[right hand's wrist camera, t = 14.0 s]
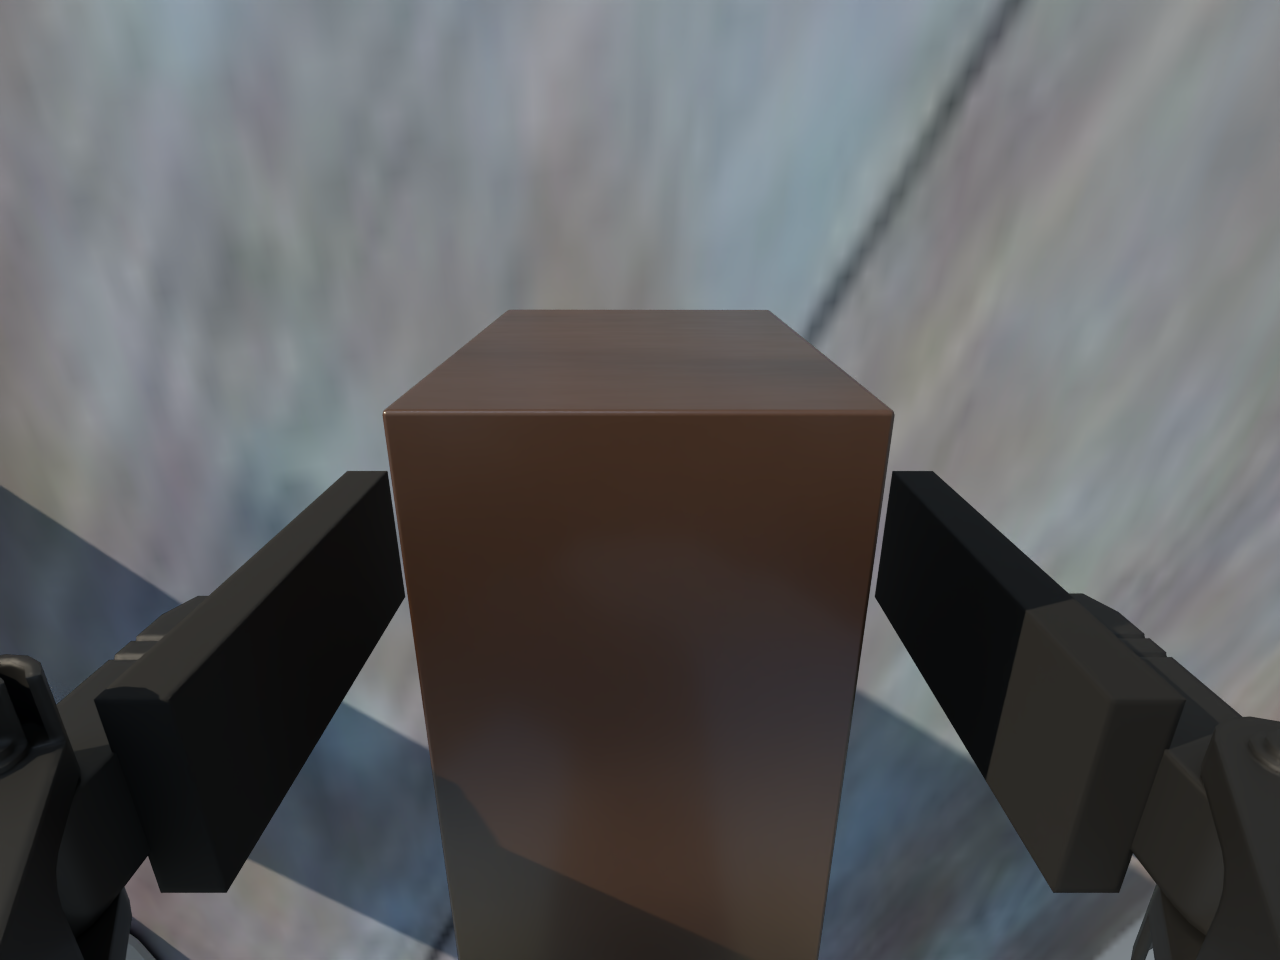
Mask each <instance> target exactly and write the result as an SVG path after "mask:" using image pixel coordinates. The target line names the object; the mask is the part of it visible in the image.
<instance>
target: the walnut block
mask: <svg viewBox="0 0 1280 960" xmlns="http://www.w3.org/2000/svg"><path fill="white" fill-rule="evenodd" d="M383 422H384V429H385V436H386V443H387V450H388V458H389V465H390V472H391V479H392V486H393V493H394V501H395V508H396V515H397V522H398V529H399V536H400V544H401V551H402V558H403V565H404V572H405V580H406V587H407V594H408V601H409V608H410V615H411V623H412V630H413V637H414V644H415V651H416V658H417V666H418V673H419V680H420V687H421V694H422V702H423V709H424V716H425V723H426V730H427V737H428V745H429V752H430V759H431V766H432V773H433V781H434V788H435V795H436V802H437V809H438V816H439V824H440V831H441V838H442V845H443V852H444V859H445V867H446V874H447V881H448V888H449V895H450V903H451V910H452V917H453V924H454V931H455V938H456V946H457V953H458V960H818V956H819V949H820V942H821V934H822V927H823V920H824V913H825V906H826V899H827V892H828V885H829V877H830V870H831V863H832V856H833V849H834V842H835V835H836V828H837V821H838V813H839V806H840V799H841V792H842V785H843V778H844V771H845V764H846V757H847V749H848V742H849V735H850V728H851V721H852V714H853V707H854V700H855V693H856V685H857V678H858V671H859V664H860V657H861V650H862V643H863V636H864V629H865V621H866V614H867V607H868V600H869V593H870V586H871V579H872V572H873V565H874V557H875V550H876V543H877V536H878V529H879V522H880V515H881V508H882V501H883V493H884V486H885V479H886V472H887V465H888V458H889V451H890V444H891V436H892V429H893V422H894V412H893V410H891V409H890V408H889V407H888V406H886V405H885V404H884V403H883V402H882V401H880V400H879V399H878V398H877V397H875V396H874V395H873V394H872V393H870V392H869V391H868V390H867V389H865V388H864V387H863V386H862V385H861V384H859V383H858V382H857V381H856V380H854V379H853V378H852V377H851V376H849V375H848V374H847V373H846V372H845V371H843V370H842V369H841V368H840V367H838V366H837V365H836V364H835V363H833V362H832V361H831V360H830V359H828V358H827V357H826V356H825V355H824V354H822V353H821V352H820V351H819V350H817V349H816V348H815V347H814V346H812V345H811V344H810V343H809V342H807V341H806V340H805V339H804V338H803V337H801V336H800V335H799V334H798V333H796V332H795V331H794V330H793V329H791V328H790V327H789V326H788V325H787V324H785V323H784V322H783V321H782V320H780V319H779V318H778V317H777V316H775V315H774V314H773V313H772V312H770V311H769V310H508V311H507V312H505V313H504V314H503V315H502V316H500V317H499V318H498V319H497V320H495V321H494V322H493V323H492V324H490V325H489V326H488V327H487V328H485V329H484V330H483V331H482V332H481V333H479V334H478V335H477V336H476V337H474V338H473V339H472V340H471V341H469V342H468V343H467V344H466V345H464V346H463V347H462V348H461V349H459V350H458V351H457V352H456V353H455V354H453V355H452V356H451V357H450V358H448V359H447V360H446V361H445V362H443V363H442V364H441V365H440V366H438V367H437V368H436V369H435V370H433V371H432V372H431V373H430V374H428V375H427V376H426V377H425V378H424V379H422V380H421V381H420V382H419V383H417V384H416V385H415V386H414V387H412V388H411V389H410V390H409V391H407V392H406V393H405V394H404V395H402V396H401V397H400V398H399V399H397V400H396V401H395V402H394V403H393V404H391V405H390V406H389V407H388V408H386V409H385V410H384V411H383Z"/></svg>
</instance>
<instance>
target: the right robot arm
mask: <svg viewBox="0 0 1280 960" xmlns="http://www.w3.org/2000/svg"><path fill="white" fill-rule="evenodd" d="M404 598H405V592H404V585H403V578H402V571H401V564H400V557H399V550H398V542H397V535H396V528H395V521H394V514H393V507H392V500H391V493H390V486H389V479H388V472H387V471H347V472H346V473H345V474H344V475H343V476H341V477H340V478H339V479H338V480H337V481H336V482H335V483H334V484H333V485H331V486H330V487H329V488H328V489H327V490H326V491H325V492H324V493H323V494H321V495H320V496H319V497H318V498H317V499H316V500H315V501H314V502H313V503H311V504H310V505H309V506H308V507H307V508H306V509H305V510H304V511H303V512H301V513H300V514H299V515H298V516H297V517H296V518H295V519H294V520H293V521H291V522H290V523H289V524H288V525H287V526H286V527H285V528H284V529H283V530H281V531H280V532H279V533H278V534H277V535H276V536H275V537H274V538H273V539H271V540H270V541H269V542H268V543H267V544H266V545H265V546H264V547H263V548H261V549H260V550H259V551H258V552H257V553H256V554H255V555H254V556H253V557H251V558H250V559H249V560H248V561H247V562H246V563H245V564H244V565H243V566H241V567H240V568H239V569H238V570H237V571H236V572H235V573H234V574H233V575H231V576H230V577H229V578H228V579H227V580H226V581H225V582H224V583H223V584H221V585H220V586H219V587H218V588H217V589H216V590H215V591H214V592H213V593H211V594H210V595H209V596H197V597H195V598H193V599H191V600H189V601H187V602H185V603H183V604H182V605H180V606H178V607H176V608H174V609H172V610H170V611H168V612H166V613H164V614H162V615H161V616H160V617H159V618H158V619H156V620H155V621H154V622H153V623H152V624H151V625H149V626H148V627H147V628H146V629H145V630H144V631H142V632H141V633H140V634H139V635H138V636H137V637H136V638H137V639H136V641H131V642H129V643H128V644H127V645H126V646H125V647H124V648H122V649H121V650H120V651H119V652H118V653H117V654H115V658H114V660H108V661H107V662H106V663H105V664H104V665H102V666H101V667H100V668H99V669H98V670H97V671H95V672H94V673H93V674H92V675H91V676H90V677H88V678H87V679H86V680H85V681H84V682H83V683H81V684H80V685H79V686H78V687H77V688H75V689H74V690H73V691H72V692H71V693H70V694H68V695H67V696H66V697H65V698H64V699H63V700H61V701H60V702H59V703H58V704H57V705H56V703H55V700H54V698H53V695H52V692H51V690H50V687H49V684H48V682H47V679H46V676H45V674H44V671H43V668H42V666H41V663H40V662H38V661H37V660H35V659H33V658H31V657H29V656H24V655H8V654H5V655H0V960H126V953H127V946H128V940H129V933H130V926H131V919H132V913H131V907H130V900H129V898H128V895H127V892H126V890H125V887H124V886H125V885H126V884H127V882H128V881H129V880H130V878H131V877H132V876H133V875H134V873H135V872H136V871H137V869H138V868H139V867H140V865H141V864H142V863H143V861H144V860H145V859H146V857H147V856H148V857H149V860H150V863H151V866H152V868H153V871H154V874H155V877H156V880H157V883H158V886H159V888H160V891H161V893H227V891H228V889H229V888H230V886H231V884H232V883H233V881H234V880H235V878H236V876H237V875H238V873H239V871H240V870H241V868H242V866H243V865H244V863H245V861H246V860H247V858H248V856H249V855H250V853H251V851H252V850H253V848H254V846H255V845H256V843H257V841H258V840H259V838H260V836H261V835H262V833H263V831H264V830H265V828H266V826H267V825H268V823H269V822H270V820H271V818H272V817H273V815H274V813H275V812H276V810H277V808H278V807H279V805H280V803H281V802H282V800H283V798H284V797H285V795H286V793H287V792H288V790H289V788H290V787H291V785H292V783H293V782H294V780H295V778H296V777H297V775H298V773H299V772H300V770H301V769H302V767H303V765H304V764H305V762H306V760H307V759H308V757H309V755H310V754H311V752H312V750H313V749H314V747H315V745H316V744H317V742H318V740H319V739H320V737H321V735H322V734H323V732H324V730H325V729H326V727H327V725H328V724H329V722H330V720H331V719H332V717H333V715H334V714H335V712H336V711H337V709H338V707H339V706H340V704H341V702H342V701H343V699H344V697H345V696H346V694H347V692H348V691H349V689H350V687H351V686H352V684H353V682H354V681H355V679H356V677H357V676H358V674H359V672H360V671H361V669H362V667H363V666H364V664H365V662H366V661H367V659H368V658H369V656H370V654H371V653H372V651H373V649H374V648H375V646H376V644H377V643H378V641H379V639H380V638H381V636H382V634H383V633H384V631H385V629H386V628H387V626H388V624H389V623H390V621H391V619H392V618H393V616H394V614H395V613H396V611H397V609H398V608H399V606H400V605H401V603H402V601H403V600H404ZM875 598H876V600H877V601H878V603H879V604H880V606H881V608H882V609H883V611H884V613H885V614H886V616H887V618H888V619H889V621H890V623H891V624H892V626H893V628H894V629H895V631H896V633H897V634H898V636H899V638H900V639H901V641H902V643H903V644H904V646H905V648H906V649H907V651H908V653H909V654H910V656H911V657H912V659H913V661H914V662H915V664H916V666H917V667H918V669H919V671H920V672H921V674H922V676H923V677H924V679H925V681H926V682H927V684H928V686H929V687H930V689H931V691H932V692H933V694H934V696H935V697H936V699H937V701H938V702H939V704H940V706H941V707H942V709H943V711H944V712H945V714H946V715H947V717H948V719H949V720H950V722H951V724H952V725H953V727H954V729H955V730H956V732H957V734H958V735H959V737H960V739H961V740H962V742H963V744H964V745H965V747H966V749H967V750H968V752H969V754H970V755H971V757H972V759H973V760H974V762H975V764H976V765H977V767H978V768H979V770H980V772H981V773H982V775H983V777H984V778H985V780H986V782H987V783H988V785H989V787H990V788H991V790H992V792H993V793H994V795H995V797H996V798H997V800H998V802H999V803H1000V805H1001V807H1002V808H1003V810H1004V812H1005V813H1006V815H1007V817H1008V818H1009V820H1010V822H1011V823H1012V825H1013V826H1014V828H1015V830H1016V831H1017V833H1018V835H1019V836H1020V838H1021V840H1022V841H1023V843H1024V845H1025V846H1026V848H1027V850H1028V851H1029V853H1030V855H1031V856H1032V858H1033V860H1034V861H1035V863H1036V865H1037V866H1038V868H1039V870H1040V871H1041V873H1042V875H1043V876H1044V878H1045V879H1046V881H1047V883H1048V884H1049V886H1050V888H1051V889H1052V891H1053V893H1119V891H1120V888H1121V886H1122V883H1123V880H1124V877H1125V874H1126V871H1127V868H1128V866H1129V863H1130V860H1131V857H1132V854H1134V855H1135V856H1136V857H1137V859H1138V860H1139V861H1140V863H1141V864H1142V865H1143V867H1144V868H1145V869H1146V871H1147V872H1148V873H1149V874H1150V876H1151V877H1152V878H1153V880H1154V881H1155V882H1156V887H1155V890H1154V892H1153V895H1152V898H1151V900H1150V903H1149V906H1148V908H1147V911H1146V914H1145V916H1144V919H1143V922H1142V924H1141V927H1140V930H1139V932H1138V935H1137V938H1136V940H1135V943H1134V946H1133V951H1132V957H1131V960H1145V959H1146V956H1147V953H1148V951H1149V950H1150V949H1152V948H1153V951H1154V958H1155V960H1280V722H1279V721H1273V720H1267V719H1261V718H1255V717H1242V716H1241V715H1240V714H1238V713H1237V712H1236V711H1235V710H1234V709H1233V708H1231V707H1230V706H1229V705H1228V704H1227V703H1225V702H1224V701H1223V700H1222V699H1221V698H1220V697H1218V696H1217V695H1216V694H1215V693H1214V692H1212V691H1211V690H1210V689H1209V688H1208V687H1207V686H1205V685H1204V684H1203V683H1202V682H1201V681H1199V680H1198V679H1197V678H1196V677H1195V676H1193V675H1192V674H1191V673H1190V672H1189V671H1188V670H1186V669H1185V668H1184V667H1183V666H1182V665H1180V664H1179V663H1178V662H1177V661H1176V660H1175V659H1173V658H1172V657H1167V656H1166V652H1165V651H1164V650H1163V649H1162V648H1160V647H1159V646H1158V645H1157V644H1156V643H1154V642H1153V641H1152V640H1151V639H1150V638H1145V637H1144V633H1143V632H1141V631H1140V630H1139V629H1138V628H1137V627H1136V626H1134V625H1133V624H1132V623H1131V622H1130V621H1128V620H1127V619H1126V618H1125V617H1124V616H1123V615H1121V614H1120V613H1119V612H1117V611H1115V610H1113V609H1112V608H1110V607H1108V606H1106V605H1104V604H1102V603H1100V602H1098V601H1096V600H1094V599H1092V598H1090V597H1088V596H1087V595H1085V594H1069V593H1067V592H1066V591H1065V590H1064V589H1063V588H1062V587H1061V586H1060V585H1059V584H1057V583H1056V582H1055V581H1054V580H1053V579H1052V578H1051V577H1050V576H1049V575H1047V574H1046V573H1045V572H1044V571H1043V570H1042V569H1041V568H1040V567H1039V566H1037V565H1036V564H1035V563H1034V562H1033V561H1032V560H1031V559H1030V558H1029V557H1027V556H1026V555H1025V554H1024V553H1023V552H1022V551H1021V550H1020V549H1019V548H1017V547H1016V546H1015V545H1014V544H1013V543H1012V542H1011V541H1010V540H1009V539H1007V538H1006V537H1005V536H1004V535H1003V534H1002V533H1001V532H1000V531H999V530H997V529H996V528H995V527H994V526H993V525H992V524H991V523H990V522H989V521H987V520H986V519H985V518H984V517H983V516H982V515H981V514H980V513H979V512H977V511H976V510H975V509H974V508H973V507H972V506H971V505H970V504H969V503H967V502H966V501H965V500H964V499H963V498H962V497H961V496H960V495H959V494H957V493H956V492H955V491H954V490H953V489H952V488H951V487H950V486H949V485H947V484H946V483H945V482H944V481H943V480H942V479H941V478H940V477H939V476H937V475H936V474H935V473H934V472H933V471H893V472H892V479H891V486H890V493H889V500H888V507H887V514H886V521H885V528H884V535H883V543H882V550H881V557H880V564H879V571H878V578H877V585H876V592H875Z"/></svg>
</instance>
